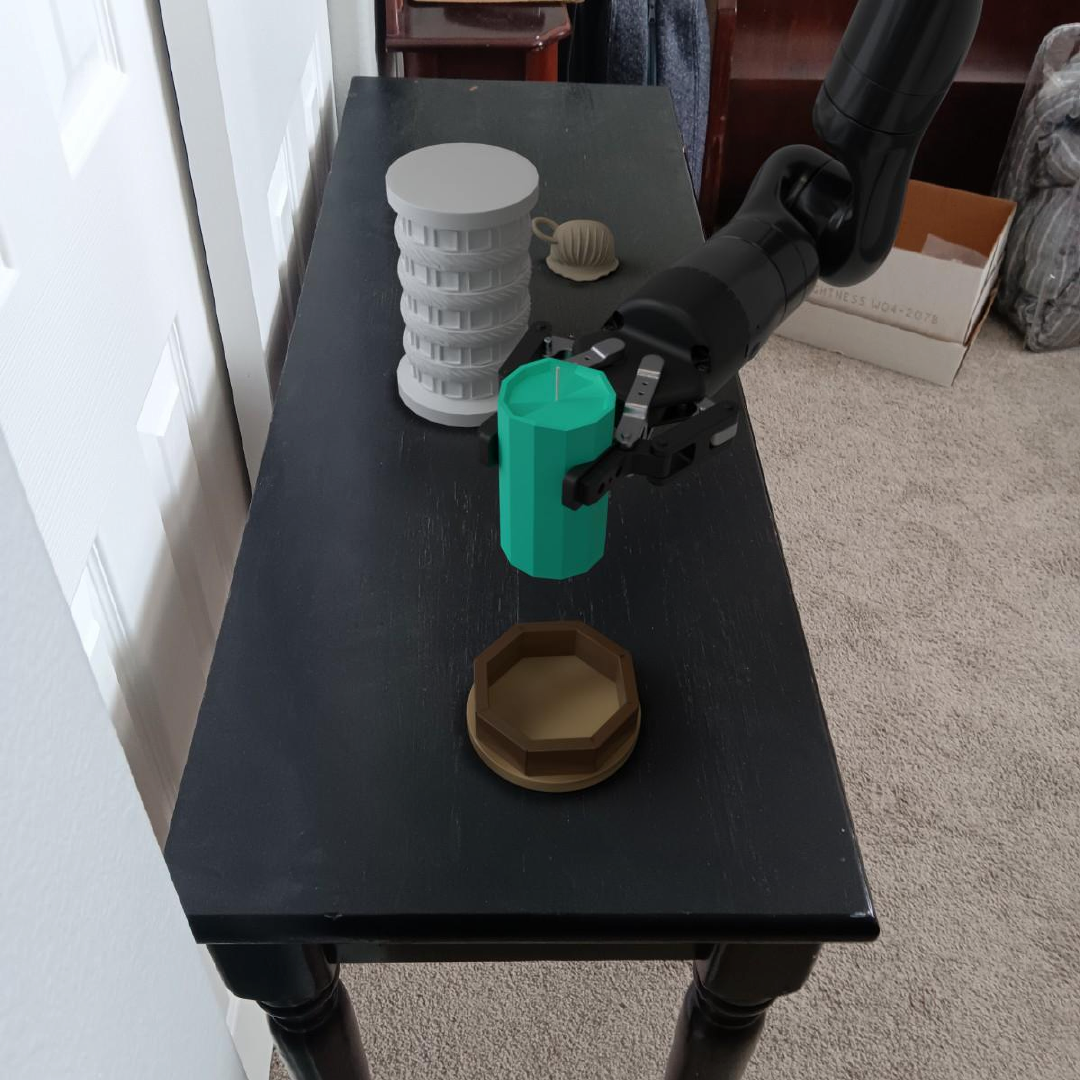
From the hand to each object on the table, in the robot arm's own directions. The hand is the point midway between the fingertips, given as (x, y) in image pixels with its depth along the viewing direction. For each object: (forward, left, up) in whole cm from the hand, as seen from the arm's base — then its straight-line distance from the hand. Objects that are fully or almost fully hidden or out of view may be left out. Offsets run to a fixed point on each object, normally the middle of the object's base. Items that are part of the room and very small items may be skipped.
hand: (526, 473), depth 54 cm
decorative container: (+24, -20, -17) cm, 36 cm away
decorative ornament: (+29, -40, -17) cm, 53 cm away
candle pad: (-3, +1, -17) cm, 18 cm away
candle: (0, -3, -7) cm, 8 cm away
